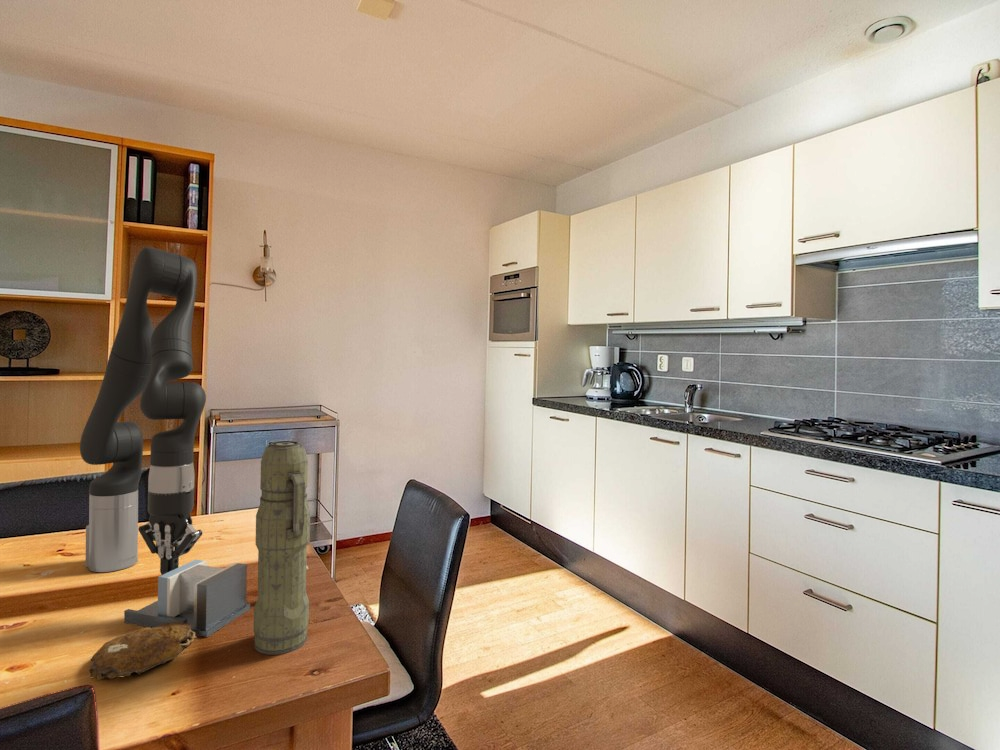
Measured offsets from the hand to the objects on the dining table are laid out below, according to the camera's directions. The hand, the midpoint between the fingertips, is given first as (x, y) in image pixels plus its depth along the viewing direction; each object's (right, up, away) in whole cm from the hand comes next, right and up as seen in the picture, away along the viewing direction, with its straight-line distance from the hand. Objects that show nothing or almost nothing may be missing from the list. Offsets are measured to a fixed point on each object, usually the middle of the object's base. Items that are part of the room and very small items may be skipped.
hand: (169, 576), depth 103 cm
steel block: (+7, -6, -1) cm, 10 cm away
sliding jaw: (+3, -6, 0) cm, 7 cm away
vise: (+4, -7, -1) cm, 9 cm away
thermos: (+25, -8, -9) cm, 28 cm away
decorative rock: (+5, -8, -15) cm, 18 cm away
